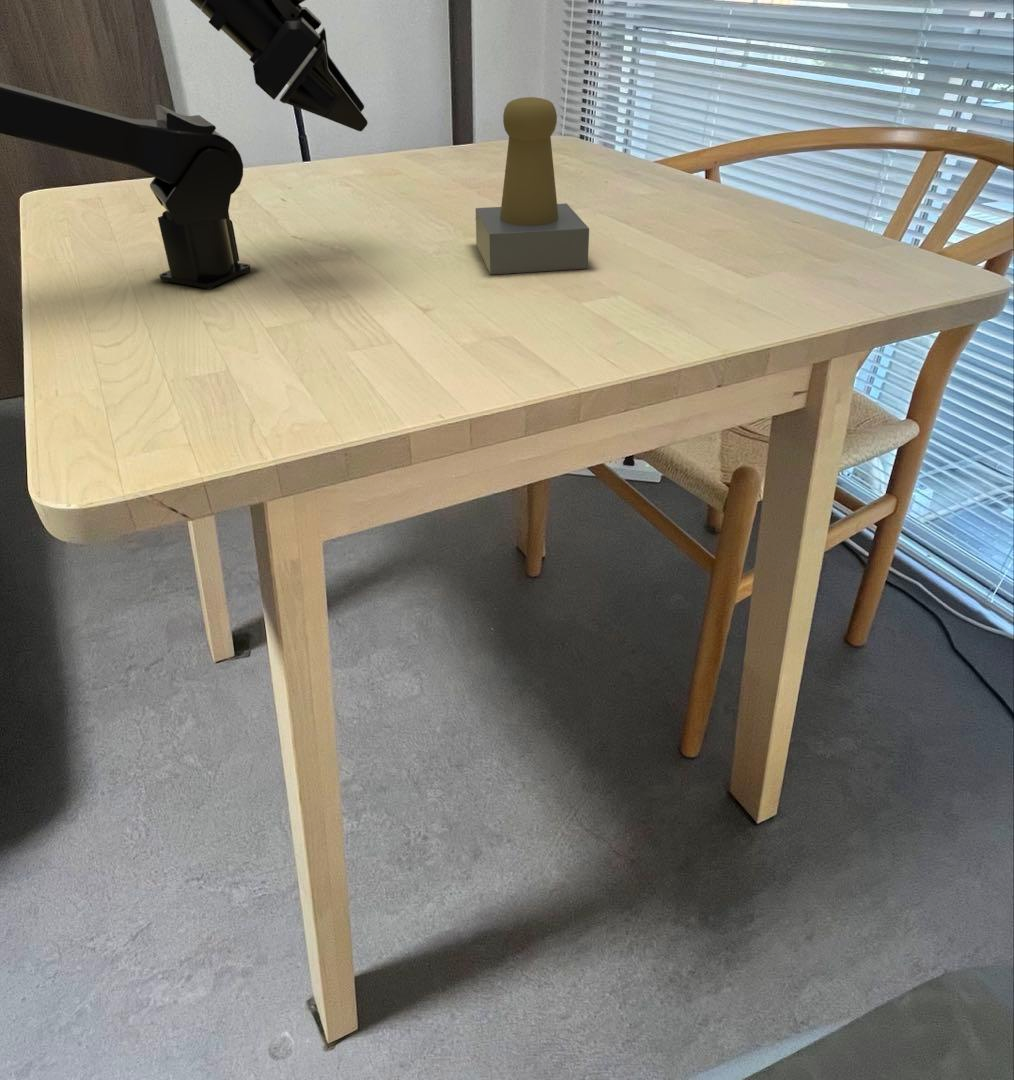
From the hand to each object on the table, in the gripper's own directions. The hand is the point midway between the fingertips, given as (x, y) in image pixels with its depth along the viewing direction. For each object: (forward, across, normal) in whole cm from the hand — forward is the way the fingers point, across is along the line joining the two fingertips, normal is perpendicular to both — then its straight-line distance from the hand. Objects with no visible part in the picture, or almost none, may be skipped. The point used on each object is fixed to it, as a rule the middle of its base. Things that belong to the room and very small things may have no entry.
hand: (363, 118), depth 82 cm
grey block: (+21, -1, -2) cm, 21 cm away
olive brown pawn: (+18, -1, -4) cm, 19 cm away
